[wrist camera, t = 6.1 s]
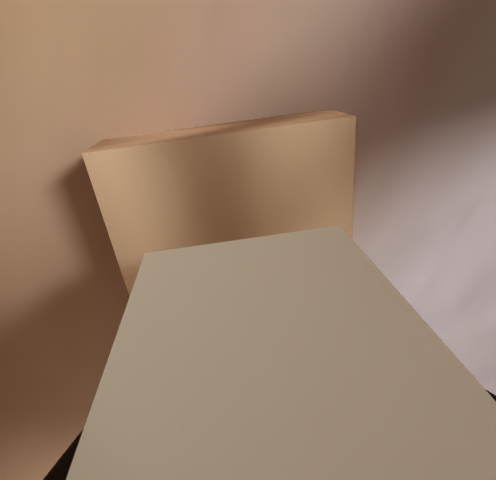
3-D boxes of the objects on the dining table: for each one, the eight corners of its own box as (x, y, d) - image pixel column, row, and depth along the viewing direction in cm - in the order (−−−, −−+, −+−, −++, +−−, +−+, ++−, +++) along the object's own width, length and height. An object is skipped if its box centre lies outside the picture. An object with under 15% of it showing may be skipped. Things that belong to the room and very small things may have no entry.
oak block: (327, 108, 14) (356, 116, 11) (328, 288, 18) (350, 326, 15) (106, 137, 13) (81, 153, 11) (158, 315, 17) (150, 359, 15)
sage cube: (339, 225, 9) (555, 467, 3) (337, 365, 11) (462, 644, 6) (144, 253, 8) (35, 566, 3) (182, 390, 11) (158, 709, 5)
